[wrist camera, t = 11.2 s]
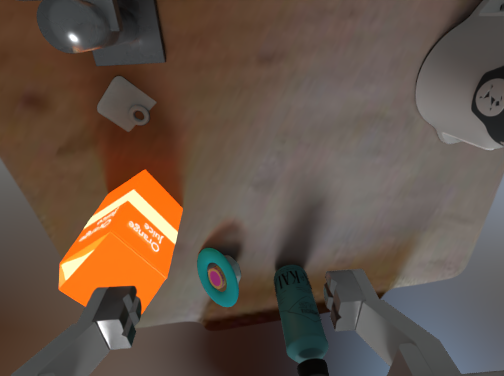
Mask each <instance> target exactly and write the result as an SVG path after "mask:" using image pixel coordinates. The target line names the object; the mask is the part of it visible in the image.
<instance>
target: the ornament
mask: <svg viewBox="0 0 504 376" xmlns="http://www.w3.org/2000/svg"><path fill="white" fill-rule="evenodd" d="M212 262H213V263H215V264H217V266H215V267H213V268H211V269H210V270H209V272H207V267H208V264H209V263H212ZM197 268H198V274H199V277H200V280H201V283H202V285H203V287H204V289H205V290H206V292H207V293H208V295H209V296H210V297H211V298H212V300H214V301H215V302H216V303H217V304H219V305H221V306H224V307H230V306H233V305H234V304H235V303H236V301H237V298H238V294H239V287H238V283H239V281H240V278H241V271H240V267H239V264H238V263H237V262H236V261H235V260H234V259H233V258H232V257H230V256H229V255H223V254H222V253H220V252H219V251H217V250H216V249H213V248H205V249H203V250H202V251H201V252H200V254H199V256H198V260H197ZM225 285H227V288H226V290H225V291H224V292H220V291H218V290H217V289H220V288H222V287H223V286H225ZM216 288H217V289H216Z"/></svg>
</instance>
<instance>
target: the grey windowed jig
mask: <svg viewBox="0 0 504 376" xmlns="http://www.w3.org/2000/svg"><path fill="white" fill-rule="evenodd" d="M19 1H41V0H19ZM37 22H38V26H39V28H40V31H41V33H42V34H43V36H44V37H45V39H46V40H47V41H48V42H49V43H50V44H51V45H52V46H53V47H55V48H56V49H58V50H60V51H63V52H66V53H80V52H85V51H90V50H92V52H93V55H94V59H95V62H96V66H108V65H126V64H144V63H162V62H166V57H165V51H164V46H163V40H162V35H161V29H160V24H159V18H158V13H157V7H156V1H155V0H43V1H42V2H41V3H40V5H39V7H38V10H37Z"/></svg>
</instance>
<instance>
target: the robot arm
mask: <svg viewBox="0 0 504 376" xmlns="http://www.w3.org/2000/svg"><path fill="white" fill-rule="evenodd" d="M501 5H502V8H501V10H500V6H501ZM416 103H417V107H418V110H419V112H420V114H421V116H422V117H423V118H424V119H425V120H426V121H427V122H428V123H430V124H431V125H432V126H433V127H435V129H436V131H437V133H438V136H439V138H440V140H441V141H442V142H444V143H447V144H453V143H457V142H461V141H464V142H467V143H469V144H472V145H475V146H477V147H480V148H483V149H486V150H494V149H495V148H502V147H504V0H483V1H482V2H481V3H480V4H479V5H478V7H477V8H476V9H475V10H474V12H473V13H472V14H471V15H470V17H469V18H467V19H466V20H465V21H464V22H462V23H461V24H459V25H458V26H457V27H455V28H454V29H452V30H451V31H450V32H448V33H447V34H446V35H445V36H444V37H443V38H442V39H441V40H440V41H439V42H438V43H437V44H436V46H435V47H434V48H433V49H432V51H431V52H430V54H429V55H428V57H427V58H426V60H425V62H424V64H423V66H422V68H421V71H420V73H419V76H418V80H417V84H416ZM325 278H326V281H327V282H326V283H325V284H324V299H325V303H326V306H327V308H329V309H330V310H331V314H330V317H331V321H332V324H333V326H334V329H335V331H346V330H347V331H348V330H355V331H356V332H357V333H358V334H359V335H360V336H361V337H362V338H363V339H364V340H365V342H366V343H367V344H368V345H370V346H371V348H372V349H373V350H374V351H375V352H376V353H377V354H378V355H379V356H380V357H381V358H382V359H383V360H384V361H385V362H386V363H387V364H388V365H389V366H390V370H389V372H388V375H387V376H504V370H503V371H492V372H480V373H469V374H461V373H460V371H459V370H458V368H457V367H456V365H455V364H454V362H453V361H452V359H451V357H450V356H449V354H448V353H447V351H446V350H445V348H444V347H443V345H442V344H441V342H440V341H439V340H438V339H437V338H435V337H434V336H433V335H431V334H430V333H429V332H427V331H426V330H424V329H423V328H422V327H420V326H419V325H417V324H416V323H415V322H413V321H412V320H410V319H409V318H408V317H406V316H405V315H403V314H402V313H401V312H399V311H398V310H396V309H395V308H394V307H392V306H391V305H389V304H388V303H387V302H385V301H384V300H379V298H378V296H377V294H376V292H375V291H374V289H373V287H372V285H371V283H370V281H369V280H368V278H367V276H366V274H365V272H364V270H362V269H351V270H337V271H327V272H326V276H325ZM136 294H137V289H136V287H135V286H114V287H97V288H96V289H95V290H94V291H93V293H92V295H91V297H90V299H89V301H88V303H87V305H86V307H85V309H84V311H83V313H82V315H81V317H80V319H79V320H78V322H77V323H75V324H72V325H71V326H70V327H69V328H67V329H66V330H65V331H64V332H63V333H61V334H60V335H59V336H58V337H56V338H55V339H54V340H53V341H52V342H51V343H49V344H48V345H47V346H46V347H44V348H43V349H42V350H41V351H40V352H38V353H37V354H36V355H35V356H33V357H32V358H31V359H30V360H29V361H28V362H26V363H25V364H24V365H23V366H21V367H20V368H19V369H18V370H16V371H15V372H14V373H13V374H12V375H11V376H89V375H90V373H91V372H92V371H93V370H94V369H95V368H96V367H97V365H98V364H99V363H100V362H101V361H102V360H103V358H104V357H105V356H106V355H107V354H108V353H109V350H113V349H122V348H131V346H132V343H133V340H134V337H135V333H136V330H135V328H134V326H135V325H136V324H137V323H138V322H139V320H140V317H141V311H142V305H141V300H140V298H139V297H137V296H136Z"/></svg>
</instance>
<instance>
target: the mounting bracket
mask: <svg viewBox="0 0 504 376" xmlns="http://www.w3.org/2000/svg"><path fill="white" fill-rule="evenodd" d="M156 103H157V102H155V101H154V100H153V99H151V98H150V97H149V96H147V95H146V94H145V93H143V92H142V91H141V90H139V89H138V88H137V87H135V86H134V85H133V84H131V83H130V82H129V81H127V80H126V79H125V78H123V77H122V76H117V77H115V78H114V79H113V81H112V82H111V84H110V85H109V87H108V89H107V90H106V92H105V94H104V95H103V97H102V99H101V100H100V102H99V104H98V106H97V110H98V112H99V113H100V114H102V115H103V116H105V117H106V118H108V119H109V120H111V121H112V122H114V123H115V124H117V125H118V126H120V127H121V128H123V129H124V130H126V131H127V132H129V131H130V130H131V129H132V128H133V127H134V126H135V125H145V124H147V123H148V122H149V120H150V113H149V110H150V109H151V108H152V107H153V106H154V105H155V104H156ZM137 111H141V112H142V113H143V114H144V119H143V120H141V119H137V118H136V116H135V113H136V112H137ZM140 120H141V121H140Z"/></svg>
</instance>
